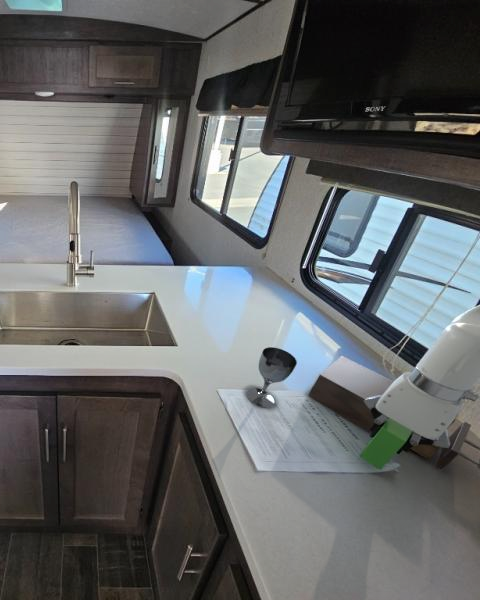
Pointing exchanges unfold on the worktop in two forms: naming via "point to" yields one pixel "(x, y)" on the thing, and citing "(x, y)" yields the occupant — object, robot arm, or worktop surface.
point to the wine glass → (271, 374)
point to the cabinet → (349, 390)
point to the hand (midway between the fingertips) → (386, 441)
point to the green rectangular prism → (385, 443)
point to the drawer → (453, 450)
